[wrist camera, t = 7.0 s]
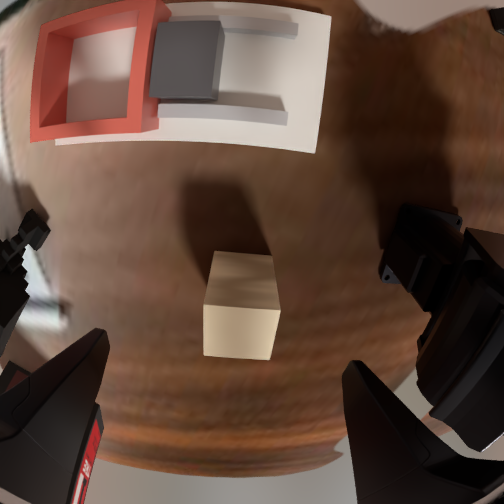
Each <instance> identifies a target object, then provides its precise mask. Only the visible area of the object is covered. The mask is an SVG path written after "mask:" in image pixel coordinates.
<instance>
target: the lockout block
mask: <svg viewBox="0 0 504 504" xmlns="http://www.w3.org/2000/svg"><path fill="white" fill-rule="evenodd" d="M280 311H281V309H280V303H279V296H278V290H277V284H276V278H275V272H274V266H273V260H272V256H269V255H258V254H246V253H234V252H223V251H214V256H213V260H212V265H211V270H210V275H209V280H208V285H207V290H206V295H205V300H204V355H206V356H217V357H229V358H244V359H263V360H270V356H271V352H272V347H273V343H274V338H275V334H276V330H277V325H278V320H279V316H280Z"/></svg>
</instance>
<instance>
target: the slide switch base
mask: <svg viewBox="0 0 504 504" xmlns="http://www.w3.org/2000/svg"><path fill="white" fill-rule="evenodd" d="M198 20H215V21H221V24H222V27H223V30H224V34H225V42H224V50H223V58H222V66H221V75H220V84H219V93H218V100H199V99H160V98H152V97H149V89H150V79H151V69H152V61H153V53H154V46H155V39H156V32H157V26H158V23H160V22H173V21H198ZM330 26H331V16H327V15H323V14H319V13H314V12H309V11H304V10H299V9H293V8H287V7H280V6H272V5H263V4H253V3H239V2H183V3H169V4H165V3H164V2H163V1H162V0H124V1H119V2H114V3H109V4H105V5H101V6H97V7H93V8H89V9H86V10H82V11H79V12H76V13H73V14H70V15H67V16H64V17H61V18H58V19H55V20H52V21H50V22H47V23H45V24H42V25H41V28H40V33H39V38H38V43H37V49H36V56H35V62H34V70H33V80H32V91H31V109H30V143H31V142H38V141H44V140H52V139H55V142H56V146H57V145H67V144H78V143H91V142H108V141H144V140H161V141H198V142H216V143H230V144H242V145H253V146H263V147H271V148H280V149H287V150H295V151H302V152H308V153H315V150H316V143H317V137H318V130H319V123H320V115H321V108H322V100H323V92H324V84H325V76H326V67H327V57H328V48H329V37H330Z"/></svg>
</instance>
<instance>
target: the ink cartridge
mask: <svg viewBox="0 0 504 504" xmlns="http://www.w3.org/2000/svg"><path fill="white" fill-rule="evenodd" d="M490 13H491V17H492V20H493V24H494V28H495V31H497V32H498V33H500V34H502V35H504V7H503V8H497V9H491V10H490Z"/></svg>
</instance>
